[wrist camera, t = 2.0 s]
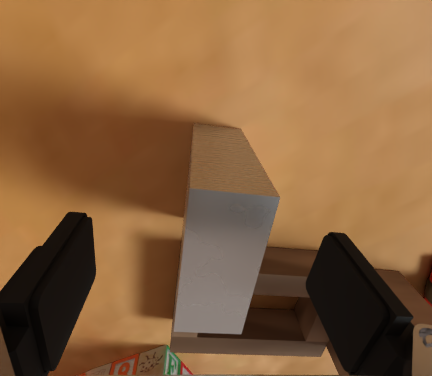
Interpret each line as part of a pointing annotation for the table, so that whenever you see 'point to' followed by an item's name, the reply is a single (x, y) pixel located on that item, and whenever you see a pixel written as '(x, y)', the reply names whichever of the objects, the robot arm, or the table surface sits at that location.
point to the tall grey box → (222, 231)
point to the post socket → (288, 313)
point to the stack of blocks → (144, 364)
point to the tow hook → (428, 290)
